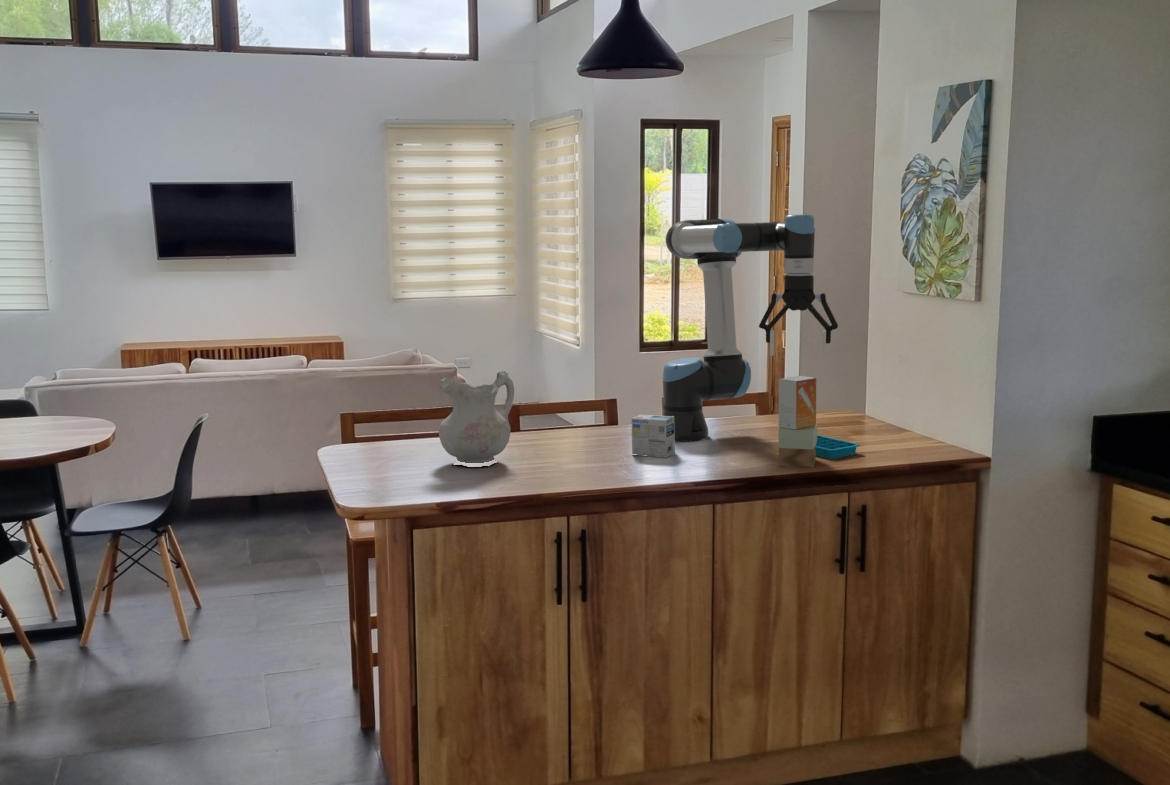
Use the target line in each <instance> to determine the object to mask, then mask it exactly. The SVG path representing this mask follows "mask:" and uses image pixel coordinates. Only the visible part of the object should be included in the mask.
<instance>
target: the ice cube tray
mask: <svg viewBox="0 0 1170 785" xmlns="http://www.w3.org/2000/svg"><path fill="white" fill-rule="evenodd" d="M858 447H861V443H855V442H852V441H848V440H842V439H839V438H838V439H837V438H833V437H829V436H824V435H819V434H817V443H816V455H817V456H816V457H821V458H824V457H825V459H828V460H829V459H830V460H831V459H832V460H833V459H838V458H844V456H845V457H849V455H850V456H854V455H856V453H857V448H858Z"/></svg>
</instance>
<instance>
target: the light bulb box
mask: <svg viewBox="0 0 1170 785" xmlns="http://www.w3.org/2000/svg"><path fill="white" fill-rule="evenodd" d="M631 452H632V453H631V455H632V454H637V455H647V456H646V457H649V456H657V457H656V458H663V457H667V458H669V457H671V456H673V455H674V454H675V453H676V441H675V425H674V416H662V415H656V414H655V415H654V414H653V415H652V414H638V415H636V416H634V417H631Z"/></svg>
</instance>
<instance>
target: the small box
mask: <svg viewBox="0 0 1170 785" xmlns="http://www.w3.org/2000/svg"><path fill="white" fill-rule="evenodd" d="M816 424H817V377H812V376H807V375H806V376H805V375H796V376H789V377H785V378H778V428H780V427H782V428H788V429H795V430H797V429H801V428H807V427H812V426H816Z"/></svg>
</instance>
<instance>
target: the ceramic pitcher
mask: <svg viewBox="0 0 1170 785" xmlns="http://www.w3.org/2000/svg"><path fill="white" fill-rule="evenodd" d="M508 374H509V373H507V371H506V370H505V371H498V372H497V373H496V379H495V380H494V382H493V383H492V384H489V383H488V384H481V385H477V386H474V385H471V384H469V383H467V382H464V381H463V382H455V381H454V380H453V379H452V378H451V379H450V378H447V377H444V378H442V379H440V384H439V390H440V392H442V393H445V394H447V395H448V396H449V397H450V398H451V400H452V405H453V407H452V412H450V413H449V415H448V416H447V417H445V418H444V419H443V420H442V421H441V423H440V424H439V427H438V437H439V441H440V444H441V446H442V448H443V449H444V450H445V452H446V453H447V454H449V455H450V456H452V457H454V458H456V459H457V460H458V461H460V462H465V463H484V462H489V461H492V460H494V459H495V456H498V455H499V454H501V453H502V452H504V450H505V448H506V447H507V445H508V444H509V441H510V438H511V437H510V436H511V425H510V423H509V413H510V411H511V409H512V407H513V401H514V398H515V386H514V382H513V380H512V378H511V377H510V376H509V375H508ZM503 386H505V387H506V399H505V402H504V404H503V405H504V406H503V408H502V409H503V410H502V414H500V413H499V412H498V410H497V409H496V406H495V405H496V404H495V403H496V397H497V394H498V392H499V389H500V388H501V387H503Z"/></svg>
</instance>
